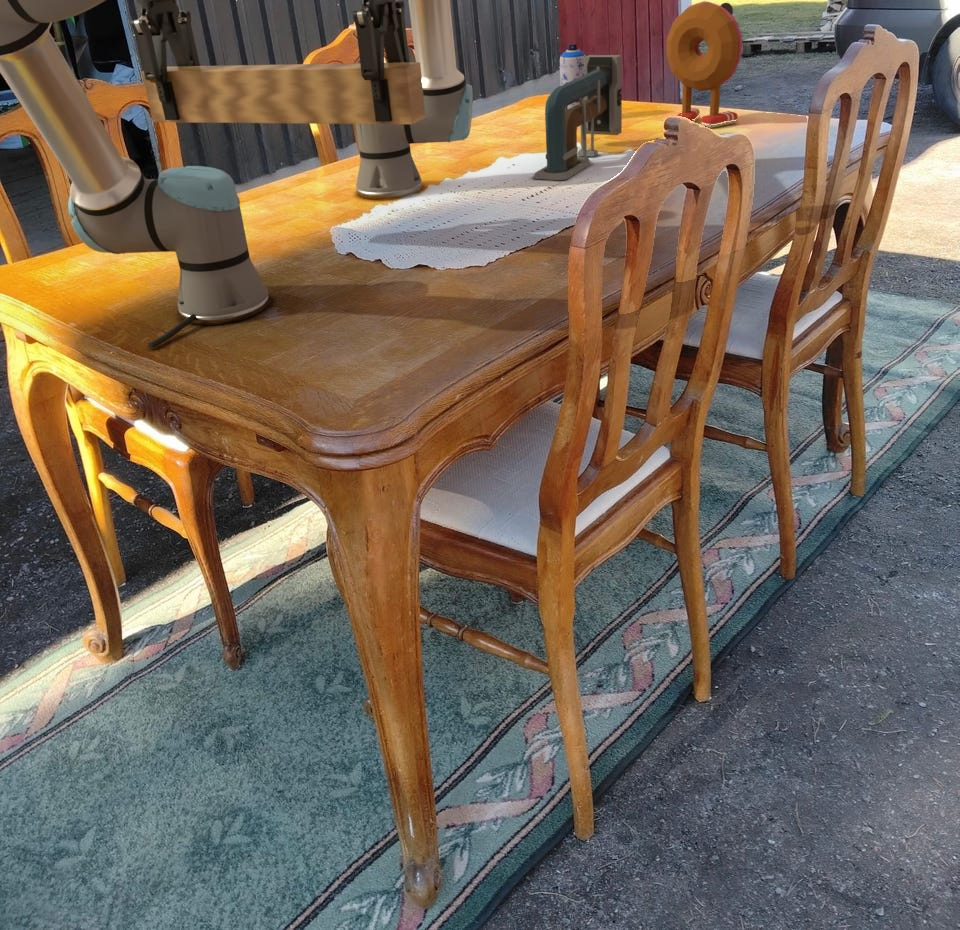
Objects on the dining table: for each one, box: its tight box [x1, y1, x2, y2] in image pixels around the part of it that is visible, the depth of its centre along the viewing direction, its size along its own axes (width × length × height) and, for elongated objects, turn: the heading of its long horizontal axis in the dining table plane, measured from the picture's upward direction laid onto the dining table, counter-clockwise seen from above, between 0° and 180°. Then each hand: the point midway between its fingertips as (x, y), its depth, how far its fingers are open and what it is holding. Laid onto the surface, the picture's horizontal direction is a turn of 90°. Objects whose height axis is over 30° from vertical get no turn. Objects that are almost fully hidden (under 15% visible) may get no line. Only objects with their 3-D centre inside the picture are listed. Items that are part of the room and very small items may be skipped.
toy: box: [665, 0, 743, 129], centre depth 253 cm, size 21×10×30 cm, turn 47°
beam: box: [141, 61, 426, 125], centre depth 169 cm, size 54×5×9 cm, turn 67°
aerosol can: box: [559, 43, 587, 109], centre depth 273 cm, size 8×8×20 cm
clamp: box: [532, 54, 623, 181], centre depth 230 cm, size 35×9×21 cm, turn 151°
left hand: (182, 115), depth 179 cm, fingers closed on beam, 5 cm apart
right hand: (392, 116), depth 163 cm, fingers closed on beam, 5 cm apart
